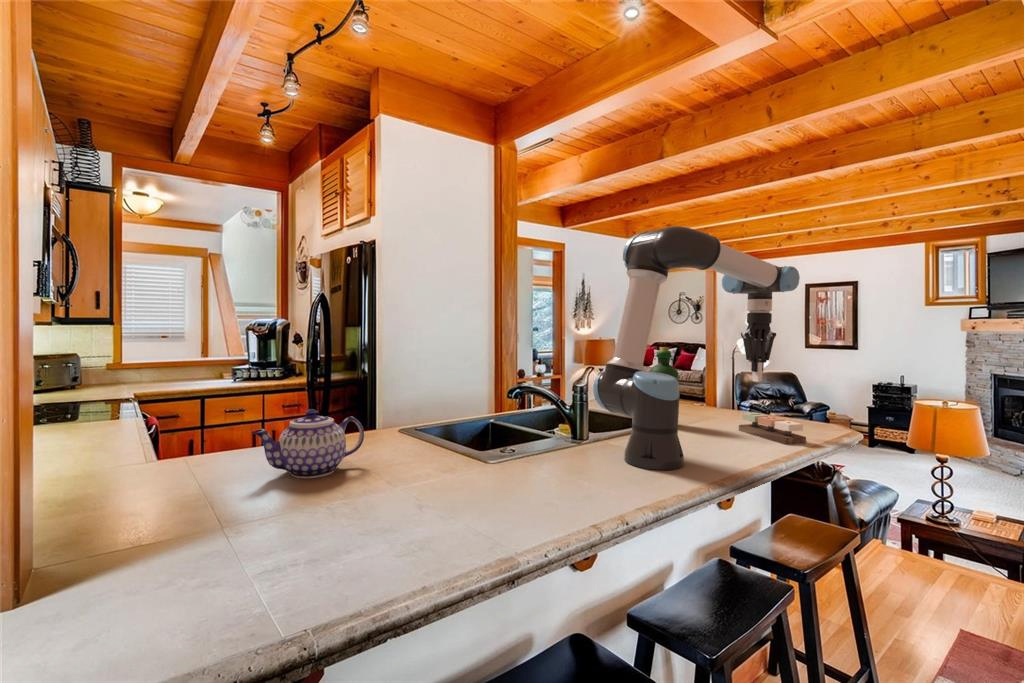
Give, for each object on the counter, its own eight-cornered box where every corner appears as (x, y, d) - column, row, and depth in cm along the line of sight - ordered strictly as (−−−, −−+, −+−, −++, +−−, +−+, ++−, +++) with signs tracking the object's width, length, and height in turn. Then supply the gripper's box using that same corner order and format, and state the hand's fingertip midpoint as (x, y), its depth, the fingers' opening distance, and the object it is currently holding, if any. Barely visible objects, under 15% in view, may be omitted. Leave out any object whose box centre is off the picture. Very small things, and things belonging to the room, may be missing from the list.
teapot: (354, 456, 132) (355, 400, 132) (374, 471, 120) (375, 409, 119) (248, 471, 118) (248, 408, 117) (258, 490, 105) (258, 420, 105)
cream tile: (788, 438, 154) (788, 424, 154) (774, 434, 160) (774, 421, 159) (802, 437, 156) (802, 423, 156) (788, 433, 161) (788, 420, 161)
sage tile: (754, 428, 168) (754, 416, 168) (742, 425, 173) (742, 413, 173) (767, 428, 169) (768, 415, 169) (755, 424, 175) (755, 412, 174)
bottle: (673, 422, 186) (676, 346, 184) (680, 428, 175) (683, 348, 174) (644, 421, 187) (646, 346, 185) (649, 427, 176) (651, 347, 175)
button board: (785, 444, 154) (785, 438, 154) (738, 430, 173) (738, 424, 173) (805, 443, 156) (806, 436, 156) (757, 429, 175) (757, 423, 175)
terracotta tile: (770, 433, 161) (771, 420, 161) (757, 429, 166) (758, 416, 166) (784, 432, 163) (784, 419, 162) (771, 428, 168) (771, 416, 168)
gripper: (751, 311, 164) (749, 383, 165) (783, 312, 168) (781, 382, 169) (735, 311, 171) (733, 380, 172) (766, 312, 175) (764, 379, 176)
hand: (757, 381), depth 171 cm, fingers closed
